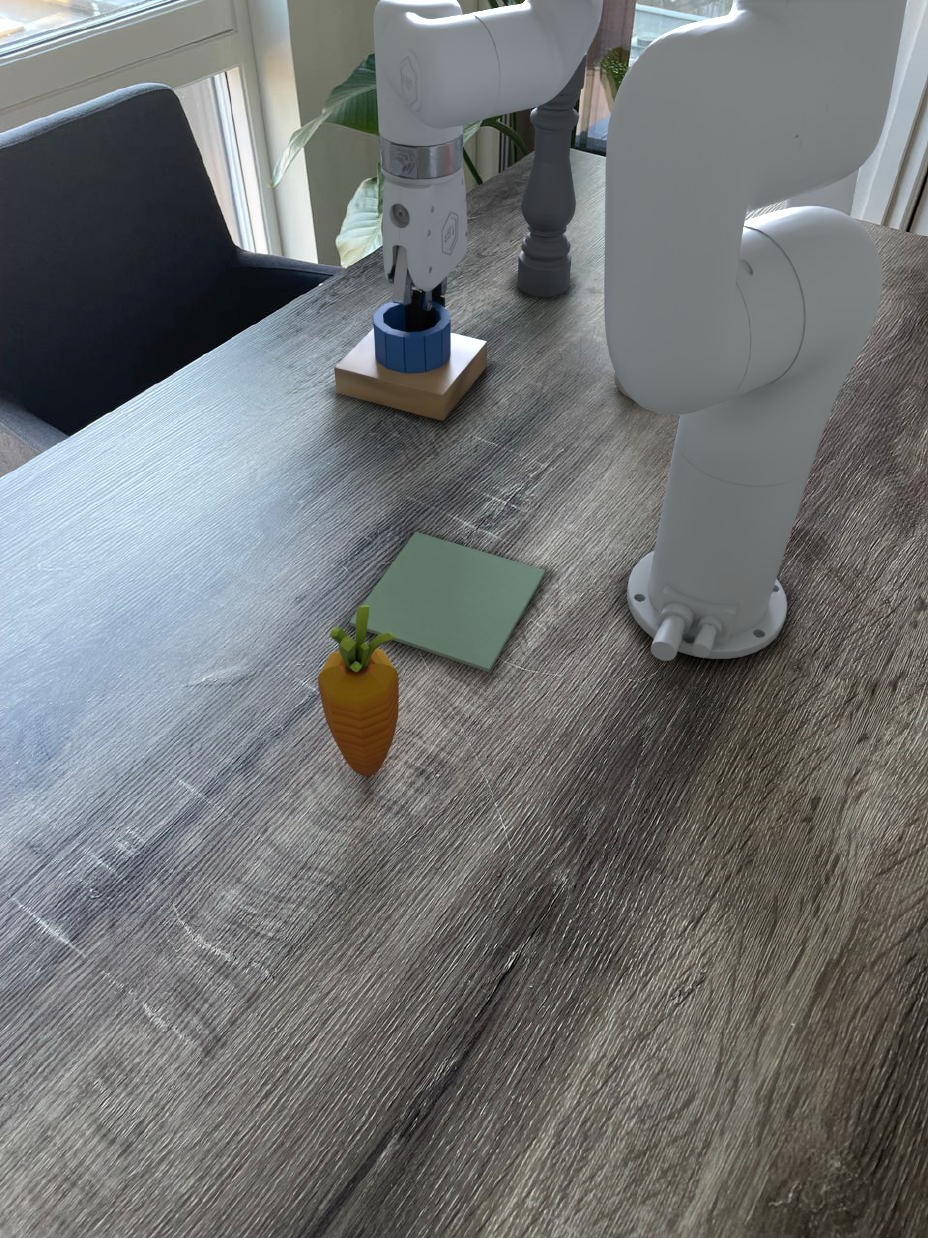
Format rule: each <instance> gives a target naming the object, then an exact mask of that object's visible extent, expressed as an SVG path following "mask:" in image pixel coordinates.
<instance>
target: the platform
mask: <svg viewBox="0 0 928 1238" xmlns="http://www.w3.org/2000/svg"><path fill="white" fill-rule="evenodd" d="M487 360H488V341H487V340H482V339H479V338H475V337H471V336H466V335H461V334H457V333H453V332H451V355H450V358H449V359H448V360H447V361H446V362H445V364H444V365H443V366H441V367H439V368H436V369H433V370H431V371H428V372H422V373H406V372H405V373H401V372H397V371H393V370H389V369H388V368H385V367H384V366H383V365H382V364H380V363H379V362H378V361H377V360H376V356H375V342H374V327H373V328H372V329H371V330H370V331H369V332H368V333H367V334H366V335H364V337H363V338H362V339H361V340H360V341H359V342H358V343H357V344H355V346H354V347H352V349H351V350H350V351H348V353H347V354H346V355H344V357H343V358H341V360H339V362H338V363H337V364H335V366H334V367H333V370H334V382H335V391H336V394H339V395H342V396H347V397H351V398H355V399H358V400H362V401H366V402H368V403H369V402H370V403H374V404H377V405H381V406H384V407H388V408H393V409H395V410H399V411H400V410H401V411H404V412H407V413H412V414H415V415H419V416H422V417H426V418H430V419H433V420H438V421H442V422H444V420H445V419H446V418H447V417H448V415H449V414H451V412H452V411H453V410H454V408H455V407H456V406H457V404H459V402H460V401H461V399H463V397H464V396H465V394H466V393H467V392H468V391H469V389H470V388H471V387H472V385H473V384H474V383H476V381H477V380H478V378H479V377H480V375H482V373H483V372H484V370H485V369H486V368H487Z"/></svg>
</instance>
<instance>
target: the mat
mask: <svg viewBox="0 0 928 1238" xmlns="http://www.w3.org/2000/svg"><path fill="white" fill-rule="evenodd" d="M545 575H546V570H545V569H542V568H539V567H535V566H532V565H530V564H529V565H528V564H526V563H521V562H518V561H515V560H511V559H508V558H505V557H502V556H498V555H495V554H493V553H488V552H485V551H483V550H482V551H481V550H478V549H475V548H471V547H469V546H464V545H461V544H458V543H455V542H451V541H448V540H445V539H442V538H437V537H436V536H431V535H428V534H425V533H422V532H418V531H415V532H414V533H413V535H411V537H410V539H409V540H408V542H407V543H406V544H405V545H404V547H403V548H402V549H401V551H400V552H399V553H398V555H397V557H396V558H395V559H394V561H393V562H392V563H391V564H390V566H389V567H388V568H387V570H386V571H385V572H384V574H383V575H382V576H381V578H380V579H379V581H378V582H377V584H376V585H375V586H374V588H373V589H372V590H371V591H370V593H369V594H368V596H367V597H366V598H365V600H364V601H363V602H362V604H361V605H360V606H362V605H368V606H369V618H368V625H367V632H368V633H371V634H374V635H376V636H378V635H381V634H383V633H387V632H392V633H393V634H394V636H395V639H393V640H392V641H395V642H397V643H400V644H404V645H406V646H410V647H412V648H414V649H415V648H416V649H419V650H421V651H424V652H427V653H430V654H432V655H436V656H440V657H442V658H445V659H448V660H451V661H454V662H457V663H460V664H463V665H466V666H469V667H471V668H475V669H478V670H480V671H484V672H487V673H490V672H491V670H492V668H493V667H494V665H495V663H496V661H497V660H498V658H499V657H500V654H501V653H502V651H503V649H504V647H505V645H506V644H507V642H508V640H509V639H510V637H511V635H512V633H513V631H514V630H515V628H516V626H517V625H518V623H519V622H520V619H521V617H522V615H524V612H525V610H526V608H527V606H528V605H529V603H530V602H531V599H533V596H534V594H535V592H536V591H537V589H538V587H539V585H540V584H541V582H542V581H543V579H544V577H545ZM356 617H357V611H356V612H355V614H354V615H353V616H352V618H351V619H350V620H349V622H348V624H349V626H350V627H353V628H355V629H356ZM367 632H366V633H367Z"/></svg>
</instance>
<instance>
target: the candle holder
mask: <svg viewBox="0 0 928 1238" xmlns="http://www.w3.org/2000/svg"><path fill="white" fill-rule="evenodd" d="M587 56H588V51H587V52H586V54H585V55H584V57H583V59H582V61H581V62H580V64H579V66H578V68H577V69H576V71H575V72H574V74H573V76H572V77H571V79H570V80H569V82H568V83H567V84H566V86H565V87H564V88H563V89H562V90H561V91H560V92H559V93H558V94H557V95H556V96H555V97H554V98H553V99H551V100H550V101H548V102H547V103H545V104H542V105H540V106H538V107H534V109H532V110H531V112H530V114H529V122H531V124H532V125H533V128H534V130H535V133H534V134H535V135H534V150H533V151H534V152H533V160H532V164H531V167H530V170H529V174H528V178H527V182H526V184H525V189H524V192H523V196H522V199H521V204H520V210H521V214H522V216H523V218H524V220H525V222H526V224H527V230H528V233H527V234H526V236H525V237H524V238H523V239H522V241H521V244H520V245H521V246H520V249H521V250H522V251H520V252H519V255H518V261H517V282H516V283H517V284H516V285H517V287H518V288H519V290H520V291H522V292H523V293H525V294H526V295H531V296H534V297H538V298H539V297H540V298H549V297H557V296H560V295H562V294H564V293H566V292H567V291H568V290H569V287H570V279H571V269H572V259H573V258H572V255H571V254H570V250H571V243H570V241H569V240H568V237H567V236H566V234H565V233H567V228H568V227H567V226H568V225H569V224H570V223H571V221H572V220H573V218H574V216H575V213H576V210H577V209H576V208H577V197H576V191H575V186H574V179H573V178H574V177H573V171H572V164H571V146H572V145H571V144H572V131H573V130H574V128H575V127H576V126H577V125H578V124H579V121H580V114H579V113H578V112H577V110H576V109H574V107H576V105H577V102H578V100H579V99H580V97H581V93H582V90H583V89H584V88H585V82H586V81H585V80H586V69H587Z"/></svg>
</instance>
